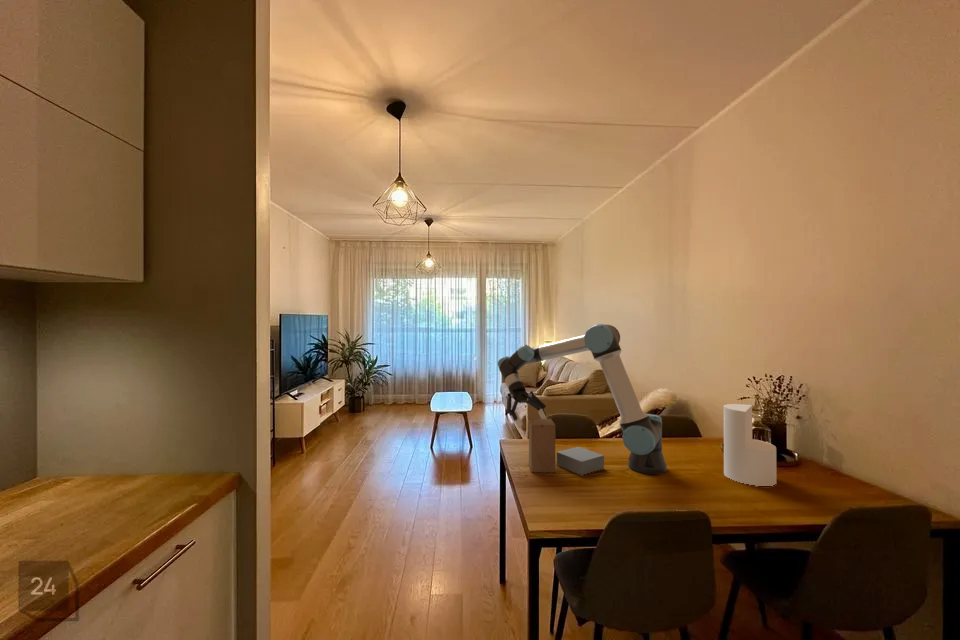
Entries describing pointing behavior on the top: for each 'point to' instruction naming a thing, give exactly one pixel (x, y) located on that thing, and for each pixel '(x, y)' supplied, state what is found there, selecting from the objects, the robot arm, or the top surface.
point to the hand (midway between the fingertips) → (533, 424)
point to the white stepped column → (746, 449)
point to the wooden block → (542, 445)
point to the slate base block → (580, 460)
